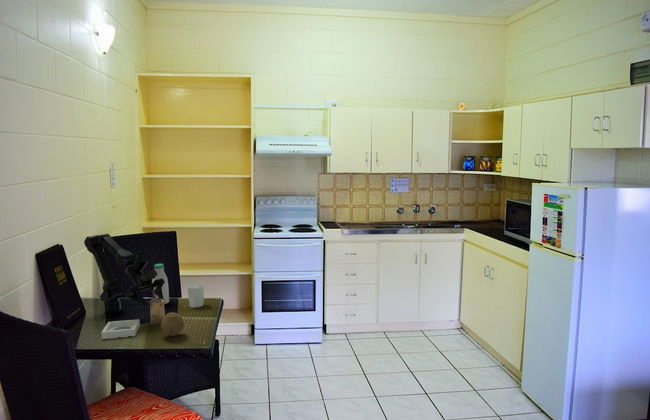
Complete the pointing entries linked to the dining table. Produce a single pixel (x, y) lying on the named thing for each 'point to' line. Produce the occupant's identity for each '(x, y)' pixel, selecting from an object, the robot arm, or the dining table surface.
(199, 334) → the dining table surface
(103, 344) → the dining table surface
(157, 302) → the spout can
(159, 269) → the milk bottle
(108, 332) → the tray
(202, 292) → the white cup
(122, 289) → the robot arm
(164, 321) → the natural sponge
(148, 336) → the dining table surface
